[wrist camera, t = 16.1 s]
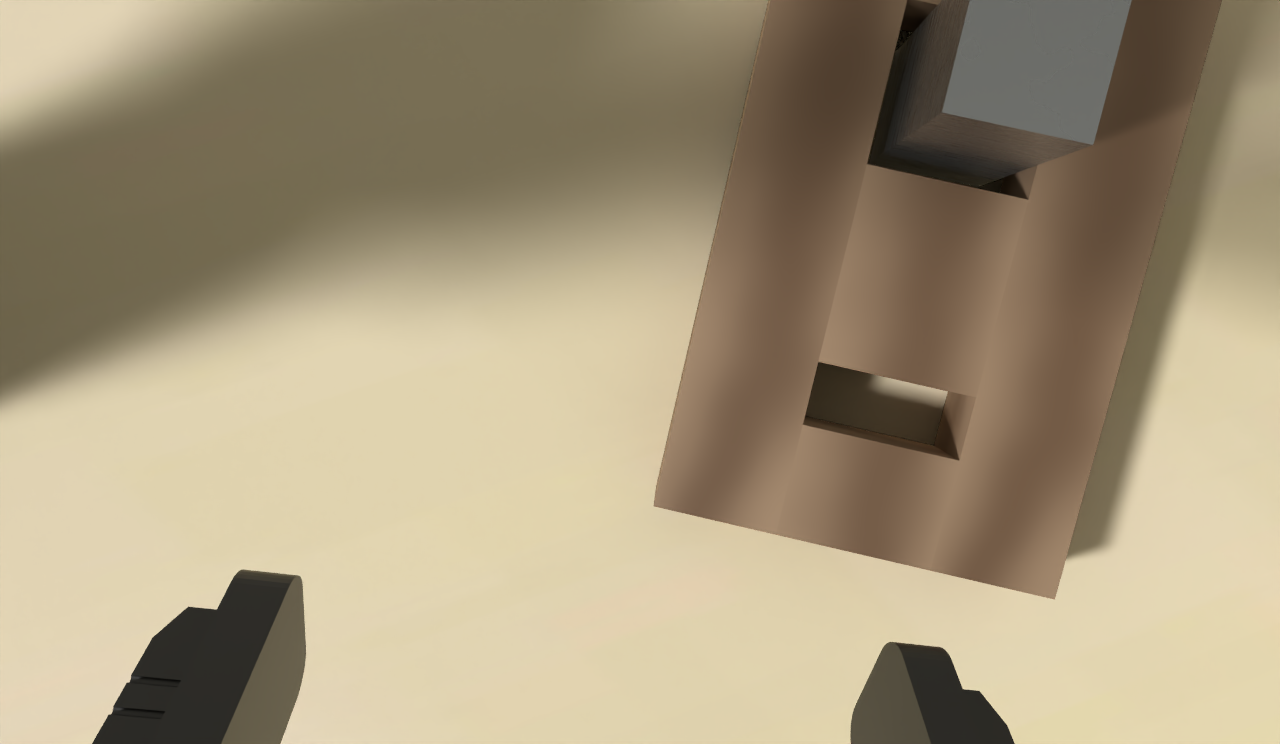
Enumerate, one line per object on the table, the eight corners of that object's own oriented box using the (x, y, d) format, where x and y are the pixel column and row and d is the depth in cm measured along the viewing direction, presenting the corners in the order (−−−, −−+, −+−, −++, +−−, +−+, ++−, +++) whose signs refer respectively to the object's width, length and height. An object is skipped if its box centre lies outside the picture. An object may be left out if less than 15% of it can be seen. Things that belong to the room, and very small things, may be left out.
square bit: (868, 163, 32) (941, 112, 23) (895, 52, 32) (980, -44, 23) (976, 187, 32) (1093, 144, 23) (1004, 76, 31) (1134, -12, 22)
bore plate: (655, 487, 33) (653, 505, 30) (786, -79, 31) (798, -118, 28) (1020, 571, 33) (1054, 599, 30) (1175, 5, 31) (1229, -26, 28)
